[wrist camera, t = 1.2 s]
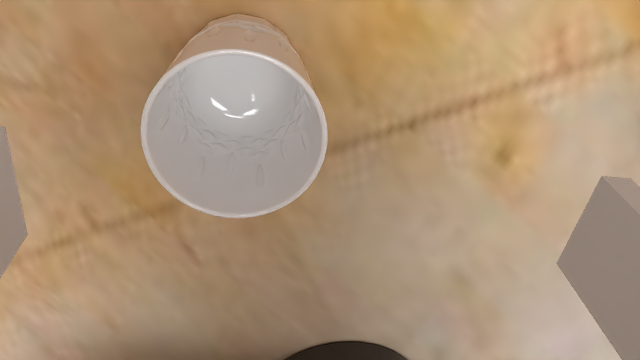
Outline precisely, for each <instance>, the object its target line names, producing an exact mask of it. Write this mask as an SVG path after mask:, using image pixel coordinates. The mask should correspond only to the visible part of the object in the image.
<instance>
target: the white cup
mask: <svg viewBox="0 0 640 360" xmlns="http://www.w3.org/2000/svg"><path fill="white" fill-rule="evenodd" d="M140 132H141V143H142V148H143V152H144V155H145V158H146V161H147V163H148V165H149V167H150V169H151V171H152V173H153V174H154V176H155V177H156V179H157V180H158V181H159V182H160V184H161V185H162V186H163V187H164V188H165V189H166V190H167V191H168V192H169V193H170V194H171V195H173V196H174V197H175V198H176V199H178V200H179V201H181V202H182V203H184V204H186V205H187V206H189V207H191V208H193V209H195V210H198V211H200V212H203V213H206V214H210V215H213V216H218V217H225V218H249V217H256V216H261V215H264V214H268V213H271V212H273V211H276V210H278V209H280V208H282V207H284V206H286V205H288V204H289V203H291V202H292V201H294V200H295V199H296V198H298V197H299V196H300V195H301V194H302V193H303V192H304V191H305V190H306V189H307V188H308V187H309V186H310V185H311V183H312V182H313V181H314V179H315V178H316V176H317V174H318V173H319V171H320V169H321V166H322V164H323V161H324V158H325V154H326V150H327V142H328V131H327V123H326V118H325V114H324V111H323V108H322V106H321V103H320V101H319V99H318V97H317V94H316V92H315V89H314V87H313V84H312V82H311V79H310V77H309V75H308V72H307V71H306V69H305V67H304V65H303V63H302V61H301V59H300V57H299V55H298V53H297V52H296V51H295V49H294V48H293V47H292V45H291V43H290V41H289V39H288V38H287V36H286V34H285V33H283V32H282V31H280V30H279V29H278V28H276V27H275V26H274V25H272V24H271V23H270V22H268V21H267V20H265V19H264V18H259V17H254V16H249V15H243V14H238V13H237V14H233V15H229V16H226V17H222V18H219V19H215V20H212V21H210V22H209V23H208V24H207V25H206V26H205V27H204V28H203V29H202V30H201V31H200V32H199V33H197V34H196V35H195V36H194V37H192V38H191V39H190V41H189V42H188V43H187V44H186V45H185V46H184V48H183V49H182V50H181V51H180V52H179V53H178V55H177V56H176V57H175V58H174V60H173V61H172V63H171V64H170V66H169V67H168V68H167V70H166V71H165V73H164V74H163V76H162V77H161V78H160V80H159V81H158V82H157V84H156V85H155V86H154V88H153V89H152V91H151V93H150V95H149V97H148V99H147V101H146V103H145V106H144V109H143V113H142V118H141V129H140Z"/></svg>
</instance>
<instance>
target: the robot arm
mask: <svg viewBox="0 0 640 360" xmlns="http://www.w3.org/2000/svg"><path fill="white" fill-rule="evenodd" d="M26 236H27V229H26V225H25V220H24V215H23V210H22V205H21V201H20V196H19V191H18V186H17V182H16V177H15V172H14V167H13V162H12V158H11V153H10V148H9V143H8V139H7V134H6V129H5V127H0V278H1V276H2V275H3V273H4V271H5V270H6V268H7V267H8V265H9V263H10V262H11V260H12V259H13V257H14V255H15V254H16V252H17V250H18V249H19V247H20V246H21V244H22V242H23V241H24V239H25V238H26ZM557 265H558V266H559V268H560V269H561V271H562V272H563V273H564V275H565V276H566V278H567V279H568V281H569V282H570V284H571V285H572V287H573V288H574V290H575V291H576V293H577V294H578V296H579V297H580V299H581V300H582V301H583V303H584V304H585V306H586V307H587V309H588V310H589V312H590V313H591V315H592V316H593V318H594V319H595V321H596V322H597V324H598V325H599V327H600V328H601V330H602V331H603V332H604V334H605V335H606V337H607V338H608V340H609V341H610V343H611V344H612V346H613V347H614V349H615V350H616V352H617V353H618V355H619V356H620V358H621V359H622V360H640V187H639V186H638V185H637V184H636V183H635V182H634V181H633V180H632V179H630V178H618V177H606V176H601V178H600V180H599V182H598V184H597V186H596V188H595V190H594V192H593V194H592V196H591V198H590V200H589V202H588V203H587V205H586V207H585V209H584V211H583V213H582V215H581V217H580V219H579V221H578V223H577V225H576V227H575V229H574V231H573V233H572V235H571V237H570V239H569V240H568V242H567V244H566V246H565V248H564V250H563V252H562V254H561V256H560V258H559V260H558V262H557ZM287 360H406V359H405V358H404V357H402V356H401V355H399V354H397V353H396V352H394V351H391V350H389V349H386V348H384V347H380V346H377V345H372V344H366V343H355V342H345V343H334V344H327V345H323V346H318V347H315V348H311V349H308V350H306V351H303V352H301V353H298V354H296V355H294V356H292V357H290V358H289V359H287Z"/></svg>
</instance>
